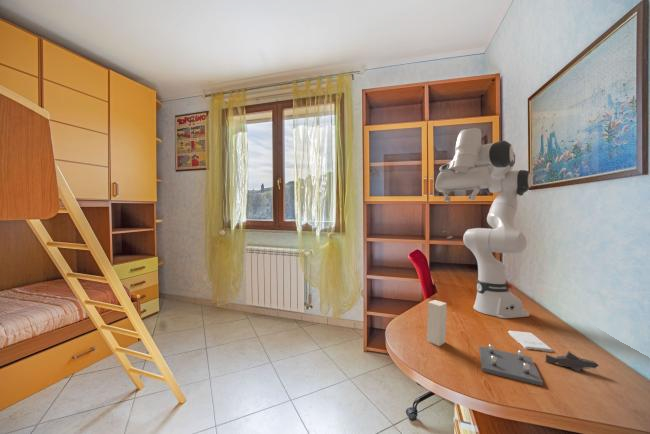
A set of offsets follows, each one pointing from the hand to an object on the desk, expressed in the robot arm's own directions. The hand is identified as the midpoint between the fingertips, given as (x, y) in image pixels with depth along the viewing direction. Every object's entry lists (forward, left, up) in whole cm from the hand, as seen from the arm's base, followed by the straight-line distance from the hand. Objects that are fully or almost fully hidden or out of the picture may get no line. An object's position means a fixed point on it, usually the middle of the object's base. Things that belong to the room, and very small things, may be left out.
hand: (458, 200), depth 101 cm
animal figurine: (-24, +22, -51) cm, 61 cm away
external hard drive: (-24, +6, -52) cm, 57 cm away
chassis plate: (-5, +21, -51) cm, 55 cm away
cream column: (+10, +6, -51) cm, 52 cm away
